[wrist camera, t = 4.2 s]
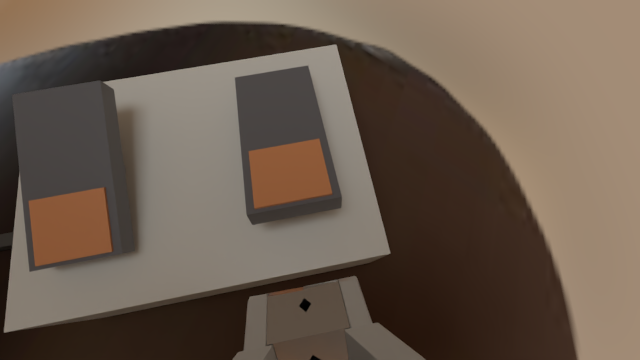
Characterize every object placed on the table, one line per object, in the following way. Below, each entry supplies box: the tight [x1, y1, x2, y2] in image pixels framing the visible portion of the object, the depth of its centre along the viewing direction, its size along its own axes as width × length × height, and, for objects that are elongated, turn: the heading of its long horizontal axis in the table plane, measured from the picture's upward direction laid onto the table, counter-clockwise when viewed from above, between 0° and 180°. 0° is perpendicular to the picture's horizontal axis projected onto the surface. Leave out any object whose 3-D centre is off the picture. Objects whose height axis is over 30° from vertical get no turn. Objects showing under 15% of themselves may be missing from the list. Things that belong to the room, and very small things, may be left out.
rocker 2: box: [235, 66, 342, 225], centre depth 18 cm, size 4×9×2 cm, turn 11°
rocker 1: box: [12, 81, 135, 272], centre depth 17 cm, size 4×9×2 cm, turn 11°
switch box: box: [0, 45, 391, 333], centre depth 22 cm, size 28×14×8 cm, turn 101°
